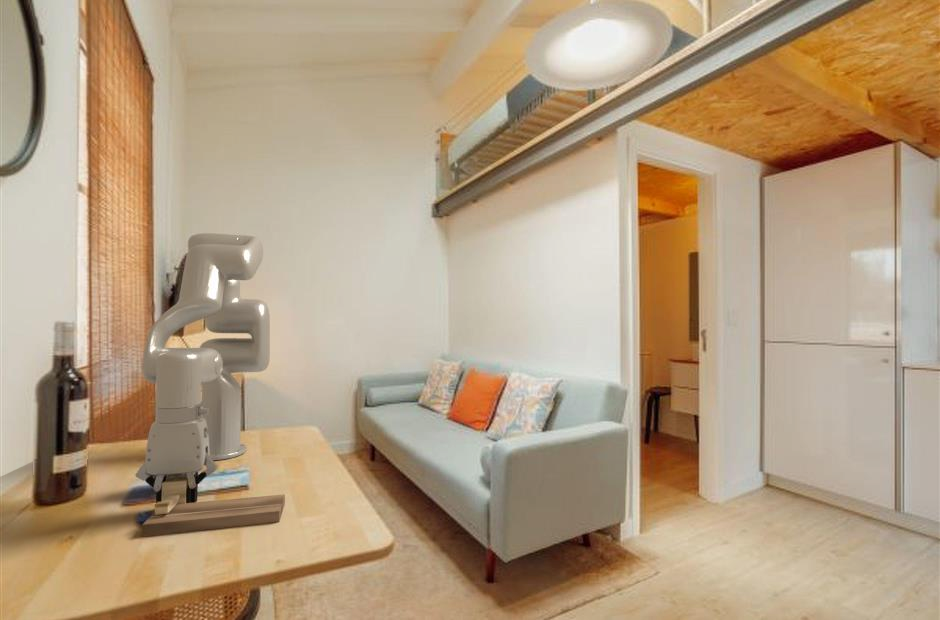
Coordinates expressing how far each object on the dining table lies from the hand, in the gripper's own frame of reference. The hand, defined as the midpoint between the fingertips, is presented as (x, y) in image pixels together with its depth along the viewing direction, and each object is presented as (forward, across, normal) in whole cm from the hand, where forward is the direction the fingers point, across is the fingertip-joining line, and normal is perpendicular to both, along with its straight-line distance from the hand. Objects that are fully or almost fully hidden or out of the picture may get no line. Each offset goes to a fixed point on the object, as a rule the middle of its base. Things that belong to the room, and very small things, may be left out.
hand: (177, 506), depth 88 cm
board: (+1, -9, +6) cm, 11 cm away
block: (0, 0, +3) cm, 3 cm away
